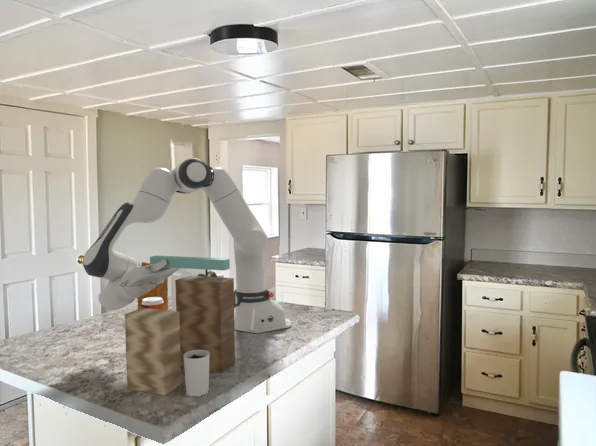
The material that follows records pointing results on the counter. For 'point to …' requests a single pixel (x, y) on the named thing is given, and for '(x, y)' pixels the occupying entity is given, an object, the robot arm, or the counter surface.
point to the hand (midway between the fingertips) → (171, 260)
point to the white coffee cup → (196, 372)
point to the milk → (175, 276)
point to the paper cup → (153, 303)
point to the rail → (193, 262)
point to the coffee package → (156, 292)
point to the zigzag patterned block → (153, 350)
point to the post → (207, 318)
